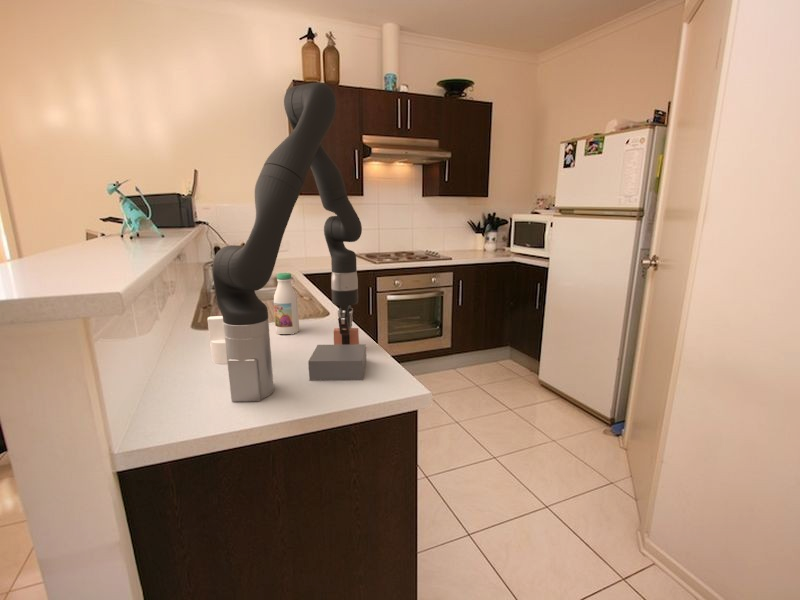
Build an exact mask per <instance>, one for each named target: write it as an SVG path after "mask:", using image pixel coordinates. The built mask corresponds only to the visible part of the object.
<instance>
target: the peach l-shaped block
mask: <svg viewBox="0 0 800 600" xmlns="http://www.w3.org/2000/svg"><path fill="white" fill-rule="evenodd" d="M343 330H347V329H343ZM359 333H360V331H359V327H351V328H350V345H352V344H360V339H359ZM333 345H342V334H340V329H339V328H338V327H335V328H333Z"/></svg>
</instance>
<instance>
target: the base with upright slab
mask: <svg viewBox="0 0 800 600" xmlns="http://www.w3.org/2000/svg"><path fill="white" fill-rule="evenodd" d="M207 325H208V326H207V327H208V328H207V329H208V336H209V345H210V354H211V360H212V363H214V364H216V365H228V362H227V353H226V343H225V333H224V323H223V316H222V315H215V316H214V315H213V316H208V317H207Z"/></svg>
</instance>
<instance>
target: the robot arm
mask: <svg viewBox="0 0 800 600" xmlns="http://www.w3.org/2000/svg"><path fill="white" fill-rule="evenodd" d="M283 107H284V111H285V114H286V117H287V119H288V122H289V124H290V127H291V129H292V131H291V132H290V133H289V135H288V136H287V137H286V138H285V139H283V141H281V143H280V144H279V145H278V146H276V148H274V150H273V151H272V152H271V153H270V154H269V156H268V157H267V158H266V160H265V161H264V164H263V166H262V169H261V170H260V173H259V176H258V177H257V180H256V183H255V185H254V204H255V205H254V206H255V220H254V224H253V227H252V228H251V231H250V234H249V236H248V238H247V240H246V241H245V243H244V245H238V244H237V245H235V244H234V245H233V244H232V245H225V246H223V247H222V248H220V249H219V250H218V251H216V253H215V255H214V258H213V262H212V279H213V286H214V292H215V298H216V304H217V307H218V310H219V312H220V314H221V316H223V323H224V333H225V343H226V353H227V362H228V364H227V371H228V379H229V390H230V399H231V402H261V401H262V400H263V399H264V398H267V397H268V396H270V395H271V394H272V393H274V390H275V388H274V387H275V386H274V385H275V384H274V374H273V362H272V360H273V359H272V350H271V349H272V348H271V337H270V322H269V321H270V320H269V310H268V306H267V305H266V304H265V302H263V301H262V300H261V299H260V298H259V297H258V296H257V294H256V291H260V290H261V289H263V288H265V286H266V285H267V284H268V283H269V281H270V279H271V277H272V276H273V275H272V274H273V271H274V269H275V266H276V262H277V258H278V256H279V255H278V254H279V252H280V247H281V244H282V242H283V241H282V240H283V238H284V234H285V231H286V228H287V226H288V223H289V222H290V221H289V220H290V218H291V215H292V212H293V210H294V207H295V206H296V204H297V201H298V199H299V197H300V195H301V191H302V189H303V187H304V184H305V180H306V177H307V174H308V173H309V170H311V171H312V172H311V173H312V175H313V178H314V181H315V184H316V188H317V190H318V195H319V198H320V200H321V203H322V207H323V208H324V210H326V211H328V212H332V213H333V214H335V215H331V216H329V217H328V218H326V221H325V222H324V226H323V235H324V238H325V242H326V245H327V248H328V252H329V255H330V258H331V259H330V260H331V262H330V263H331V278H330V280H331V281H330V282H331V283H330V284H331V287H330V288H331V303H332V305H335V306H339V309H338V310H337V317H338V319H337V321H338V327H339V329H340V334H342V345H350V328H353V327H352V326H353V315H354V314H353V313H354V308H353V307H352V306H354V305H356V304H358V302H359V284H358V283H359V281H358V279H359V277H358V274H357V273H358V271H357V254H356V253H355V251H353V250H350V249H348V248H347V247H346V246H345V243H354V242H357V241H358V240H359V239H360V237H361V236H362V229H363V228H362V222H361V220H360V219H361V218H359V216H358V213H357V211H356V210H355V208H354V206H353V204H352V203H351V201H350V200H349V197H348V193H347V190H346V185H345V181H344V178H343V175H342V173H341V171H340V169H339V167H338V166H337V164H336V163H335V162H334V160H333V159H332V158H331V156H330V155H329V154H328V153H327V151H326V150H325V148H324V147H323V145H322V141H323V140H324V138H325V136H326V135H327V133H328V131H329V129H330V127H331V125H332V124H333V121H334V119H335V116H336V111H337V98H336V95H335V92H334V90H333V88H331V87H330V85H328V84H327V83H324V82H310V83H305V84H300V85H295V86H292V87H290V88H288V89H287V90H286V92H285V93H284V98H283ZM343 329H347V330H343Z"/></svg>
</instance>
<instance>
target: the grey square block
mask: <svg viewBox="0 0 800 600" xmlns="http://www.w3.org/2000/svg"><path fill="white" fill-rule="evenodd" d="M307 362H308V363H307V364H308V376H309V378H308V380H309V381H363V380H364V375H365V371H366V366H367V344H362V343H361V344H360V343H359V344H352V345H334V344H317V345H316V347H315V349H314V350H313V352H312V353H311V356H310V357H309V359H308V361H307Z"/></svg>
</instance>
